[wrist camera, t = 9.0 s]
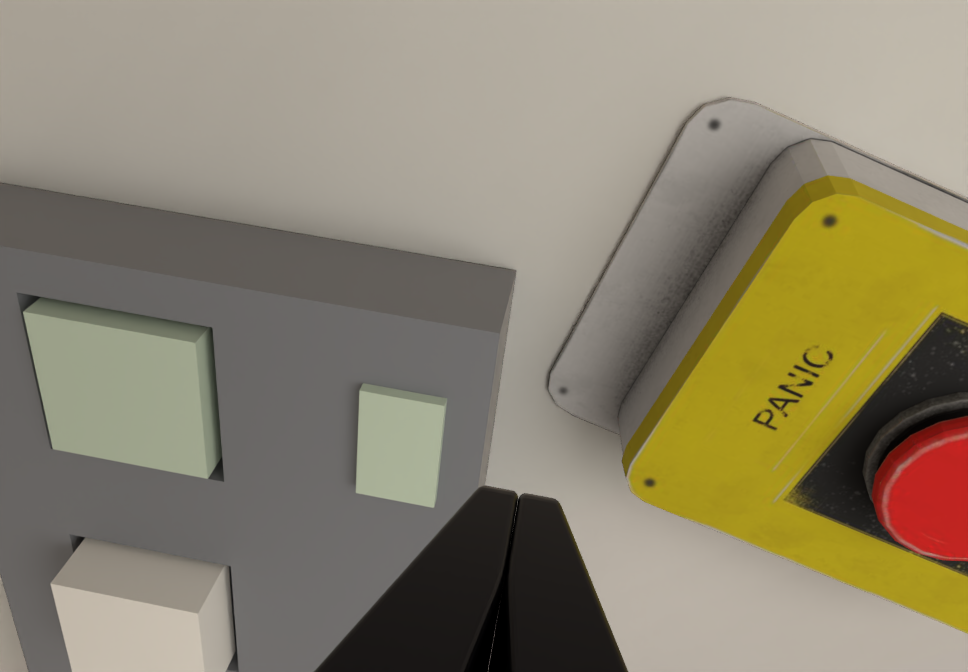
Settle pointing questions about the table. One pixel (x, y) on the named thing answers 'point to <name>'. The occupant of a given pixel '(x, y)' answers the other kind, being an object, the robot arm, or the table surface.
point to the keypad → (253, 415)
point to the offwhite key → (143, 611)
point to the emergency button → (791, 355)
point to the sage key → (127, 386)
